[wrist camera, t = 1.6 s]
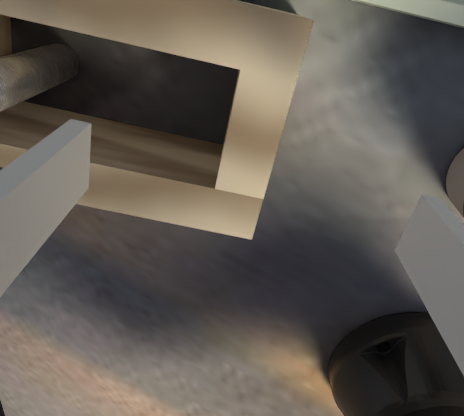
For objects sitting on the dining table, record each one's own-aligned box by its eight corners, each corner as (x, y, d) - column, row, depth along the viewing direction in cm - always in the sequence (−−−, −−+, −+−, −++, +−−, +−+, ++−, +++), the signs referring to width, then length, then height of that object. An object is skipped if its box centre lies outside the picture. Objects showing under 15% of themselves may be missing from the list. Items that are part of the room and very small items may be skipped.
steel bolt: (85, 92, 29) (-33, 162, 17) (36, 81, 29) (-120, 144, 17) (87, 41, 28) (-42, 77, 15) (35, 29, 28) (-139, 56, 15)
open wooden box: (251, 186, 33) (251, 239, 26) (-23, 128, 31) (-103, 167, 24) (296, 14, 26) (313, 20, 19) (-42, -69, 25) (-156, -93, 18)
